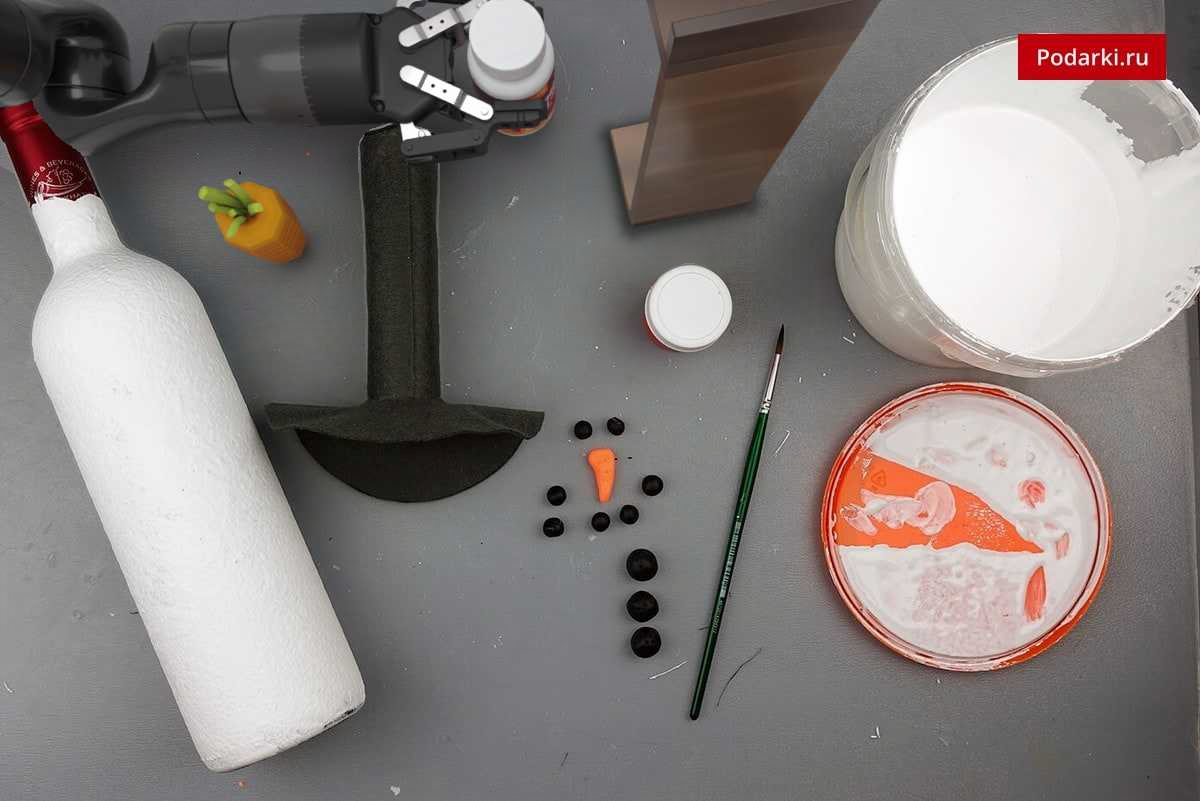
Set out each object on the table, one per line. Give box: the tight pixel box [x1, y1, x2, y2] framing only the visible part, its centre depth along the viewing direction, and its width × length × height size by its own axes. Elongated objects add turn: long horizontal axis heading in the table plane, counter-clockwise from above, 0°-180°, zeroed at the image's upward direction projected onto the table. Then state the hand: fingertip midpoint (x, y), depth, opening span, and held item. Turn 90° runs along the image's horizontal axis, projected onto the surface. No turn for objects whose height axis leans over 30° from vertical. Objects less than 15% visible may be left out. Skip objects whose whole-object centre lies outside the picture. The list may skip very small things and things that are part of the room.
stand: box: [609, 40, 856, 228], centre depth 60 cm, size 8×10×28 cm
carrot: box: [197, 178, 308, 264], centre depth 65 cm, size 5×5×15 cm
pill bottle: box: [466, 0, 557, 137], centre depth 66 cm, size 6×6×11 cm
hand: (544, 63), depth 65 cm, fingers closed on pill bottle, 6 cm apart
